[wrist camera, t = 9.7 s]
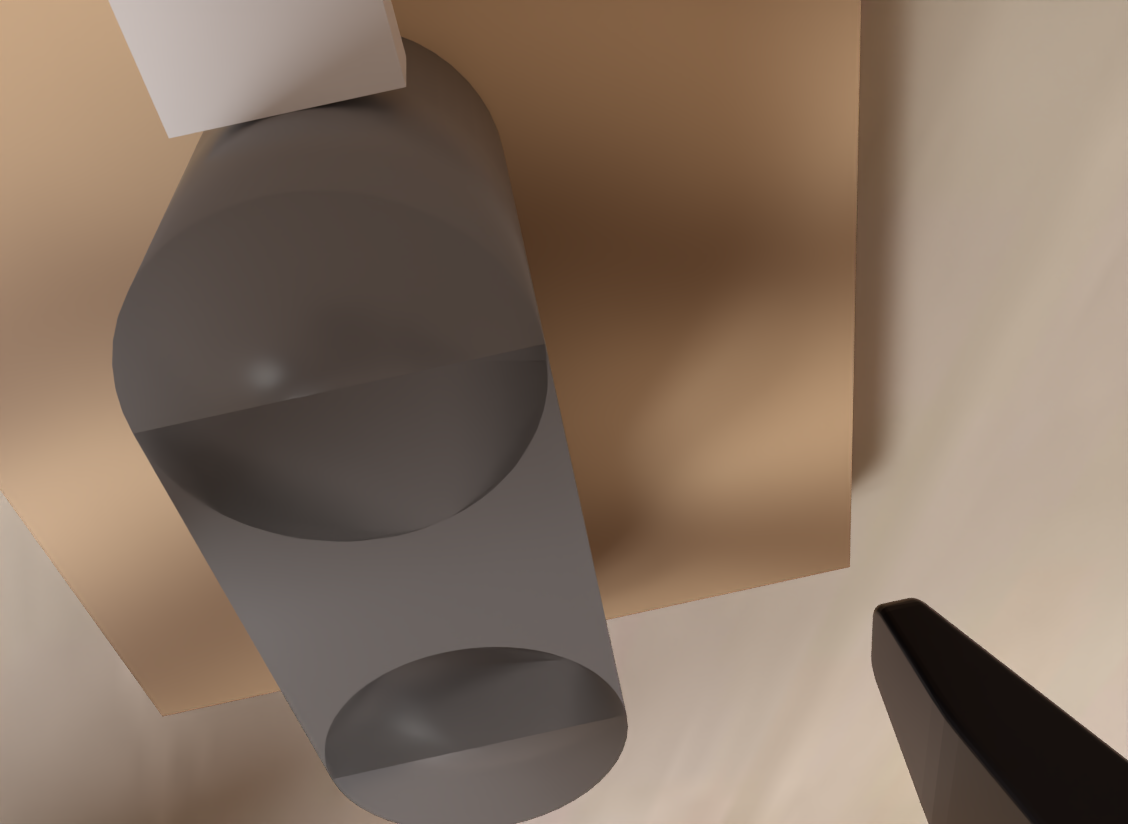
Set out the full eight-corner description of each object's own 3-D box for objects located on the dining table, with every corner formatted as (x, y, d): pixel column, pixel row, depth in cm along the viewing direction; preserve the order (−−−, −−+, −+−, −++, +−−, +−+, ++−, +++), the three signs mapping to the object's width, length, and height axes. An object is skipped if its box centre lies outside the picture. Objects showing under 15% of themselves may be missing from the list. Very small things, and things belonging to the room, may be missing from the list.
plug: (606, 621, 19) (658, 863, 15) (410, 664, 19) (412, 917, 15) (428, -192, 11) (440, -128, 7) (77, -116, 11) (-121, -7, 7)
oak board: (823, 515, 20) (849, 567, 19) (176, 656, 20) (162, 716, 19) (820, -513, 11) (871, -541, 9) (-419, -249, 11) (-523, -242, 9)
